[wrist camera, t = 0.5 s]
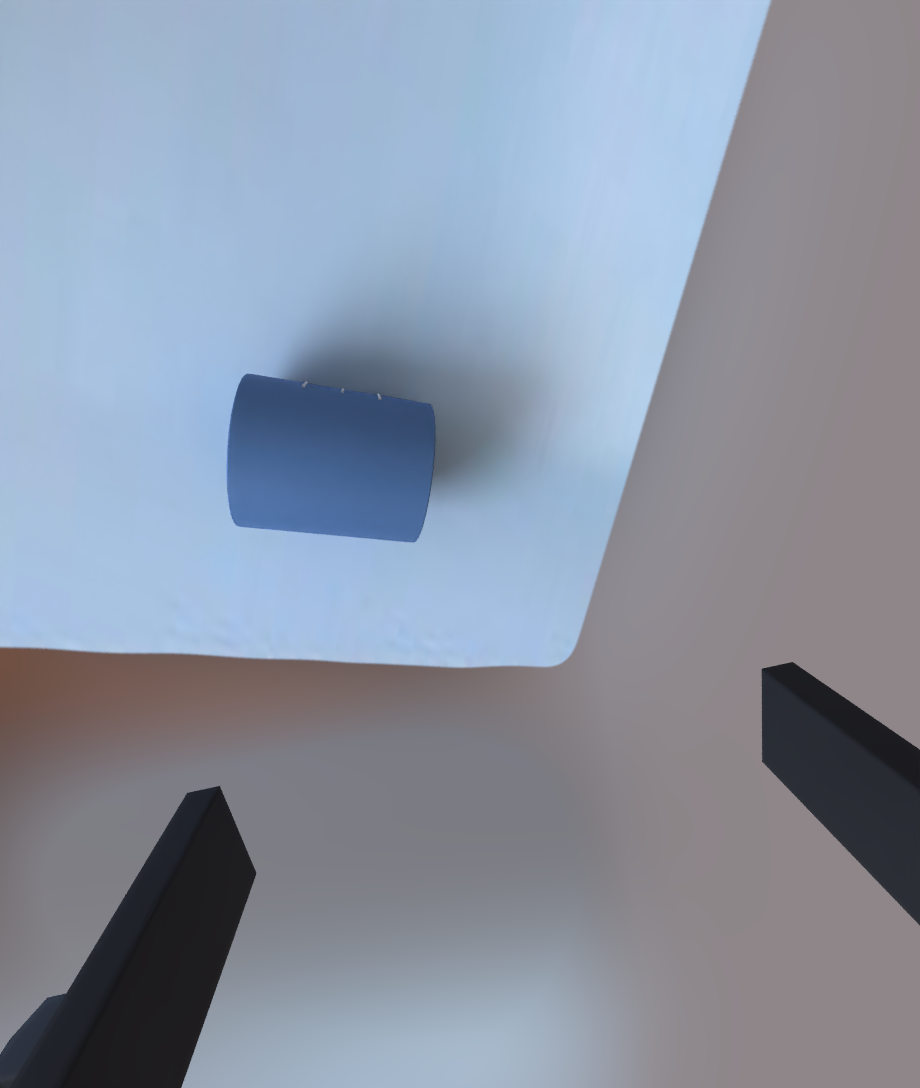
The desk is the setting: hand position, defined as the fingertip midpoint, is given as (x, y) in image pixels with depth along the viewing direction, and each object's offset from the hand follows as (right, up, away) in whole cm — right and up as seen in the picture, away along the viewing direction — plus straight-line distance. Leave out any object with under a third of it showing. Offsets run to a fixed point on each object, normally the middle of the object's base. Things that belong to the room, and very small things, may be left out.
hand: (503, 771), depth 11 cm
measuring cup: (-9, +12, +20) cm, 25 cm away
